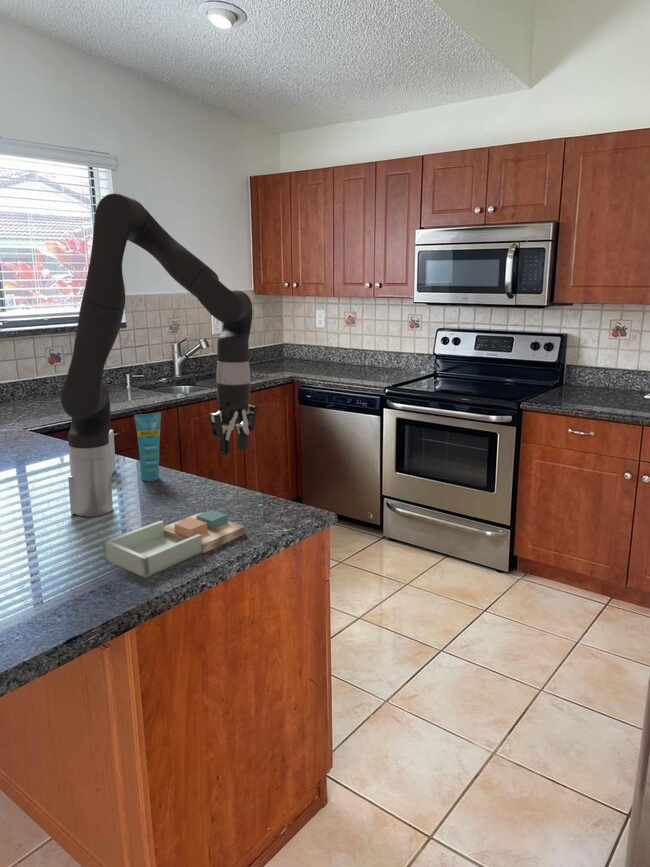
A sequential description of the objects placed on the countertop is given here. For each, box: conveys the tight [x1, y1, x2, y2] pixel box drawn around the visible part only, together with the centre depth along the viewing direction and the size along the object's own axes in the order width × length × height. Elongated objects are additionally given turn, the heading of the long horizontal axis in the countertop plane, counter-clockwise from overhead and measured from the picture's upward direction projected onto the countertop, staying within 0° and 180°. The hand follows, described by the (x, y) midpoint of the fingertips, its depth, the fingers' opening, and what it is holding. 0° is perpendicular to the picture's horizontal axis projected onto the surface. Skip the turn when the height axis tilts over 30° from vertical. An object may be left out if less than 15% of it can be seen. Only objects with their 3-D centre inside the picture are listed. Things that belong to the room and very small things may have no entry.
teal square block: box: [196, 509, 229, 529], centre depth 148 cm, size 5×5×2 cm
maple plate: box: [164, 512, 246, 554], centre depth 146 cm, size 13×14×2 cm
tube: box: [133, 412, 162, 482], centre depth 182 cm, size 7×5×19 cm, turn 123°
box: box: [102, 520, 203, 578], centre depth 135 cm, size 15×13×4 cm
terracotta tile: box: [175, 518, 207, 538], centre depth 143 cm, size 5×5×2 cm
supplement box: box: [109, 429, 117, 477], centre depth 186 cm, size 7×7×13 cm
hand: (234, 452), depth 150 cm, fingers open, 5 cm apart
